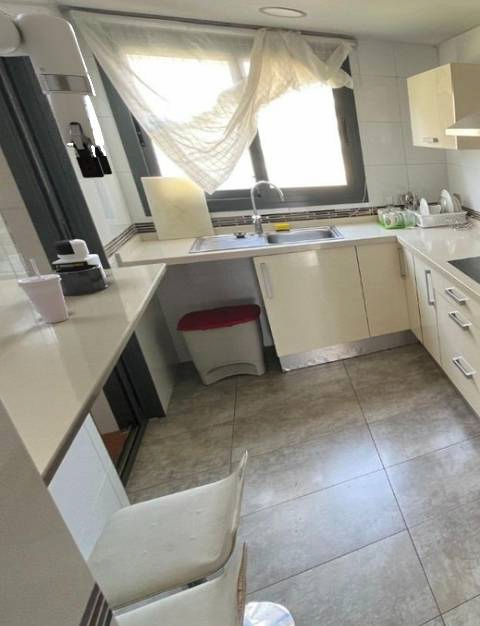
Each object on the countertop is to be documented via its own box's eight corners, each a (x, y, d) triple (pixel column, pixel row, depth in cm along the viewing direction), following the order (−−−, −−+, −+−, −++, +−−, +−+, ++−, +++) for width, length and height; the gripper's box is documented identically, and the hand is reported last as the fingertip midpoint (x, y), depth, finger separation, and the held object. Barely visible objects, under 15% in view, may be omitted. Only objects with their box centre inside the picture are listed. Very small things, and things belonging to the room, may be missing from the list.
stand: (57, 298, 115) (47, 275, 113) (66, 289, 122) (57, 267, 120) (104, 291, 120) (95, 269, 118) (110, 283, 127) (102, 262, 124)
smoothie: (45, 327, 97) (17, 263, 92) (29, 323, 100) (0, 261, 95) (83, 316, 103) (58, 256, 98) (67, 313, 105) (41, 253, 100)
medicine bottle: (61, 288, 123) (43, 244, 118) (74, 281, 129) (57, 239, 124) (96, 285, 125) (79, 241, 121) (107, 278, 131) (91, 236, 127)
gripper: (52, 89, 96) (83, 174, 102) (27, 82, 83) (64, 180, 89) (100, 91, 100) (127, 172, 106) (83, 84, 87) (115, 177, 93)
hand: (98, 176), depth 98 cm, fingers open, 9 cm apart
